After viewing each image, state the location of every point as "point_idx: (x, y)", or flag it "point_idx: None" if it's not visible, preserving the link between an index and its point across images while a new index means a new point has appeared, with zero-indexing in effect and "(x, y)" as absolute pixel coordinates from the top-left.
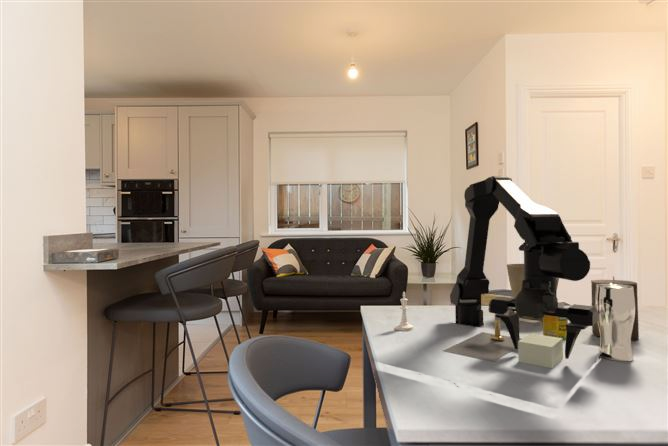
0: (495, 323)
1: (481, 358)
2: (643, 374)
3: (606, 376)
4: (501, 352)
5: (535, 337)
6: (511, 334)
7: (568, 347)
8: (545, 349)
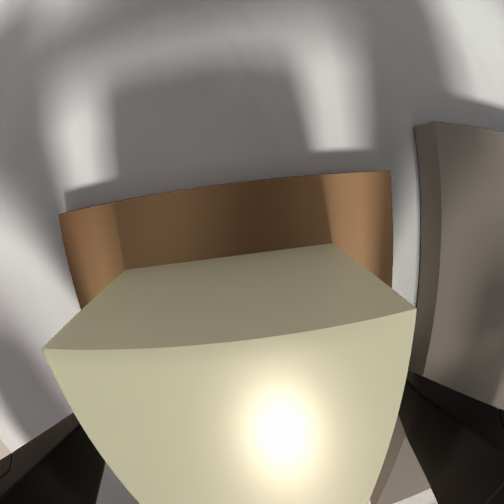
0: None
1: (489, 140)
2: None
3: (31, 390)
4: (453, 331)
5: (310, 502)
6: (481, 411)
7: (45, 440)
8: (104, 327)
